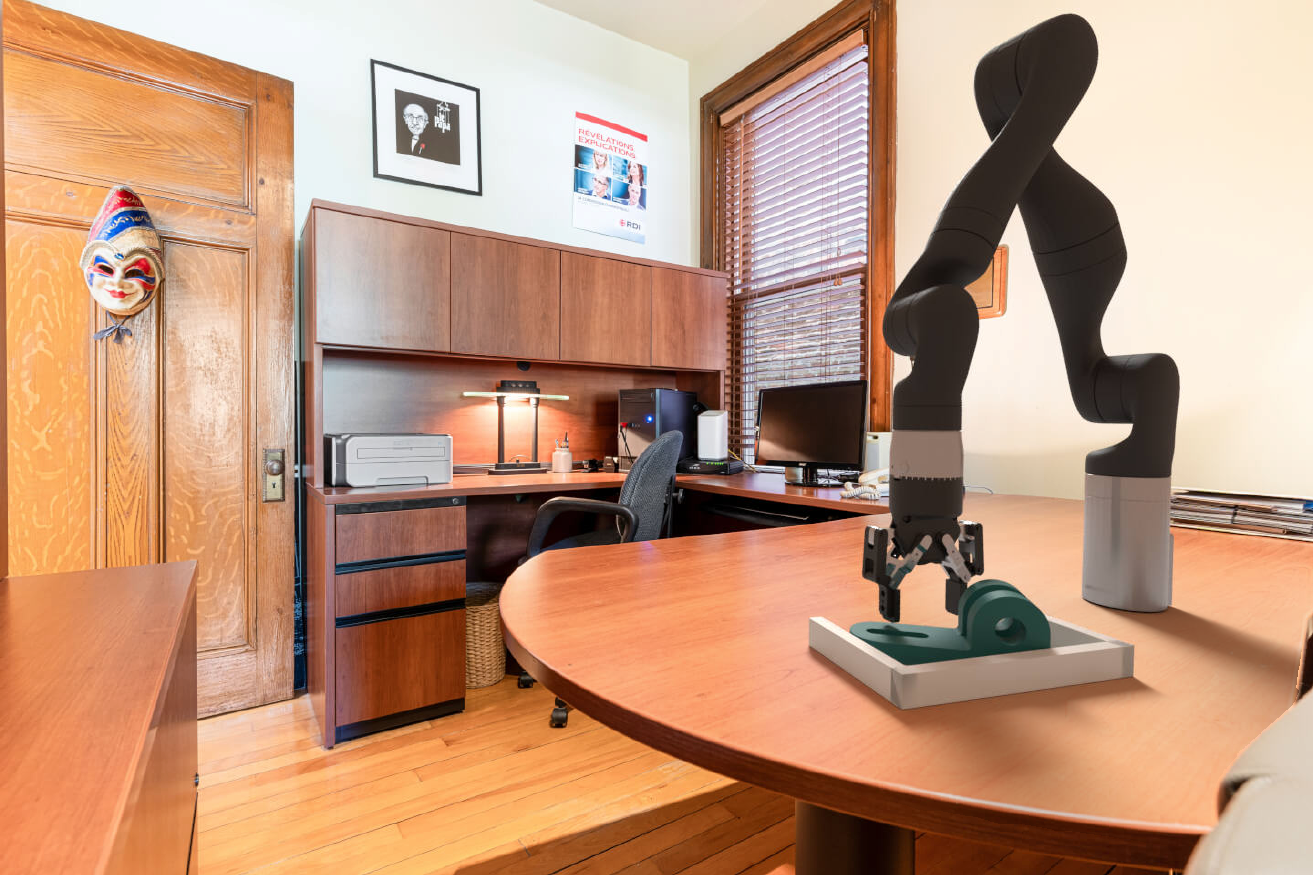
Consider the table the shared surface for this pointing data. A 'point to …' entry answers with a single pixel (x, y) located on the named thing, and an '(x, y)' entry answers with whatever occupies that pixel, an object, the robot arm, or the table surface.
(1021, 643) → the bracket
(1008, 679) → the white open frame
